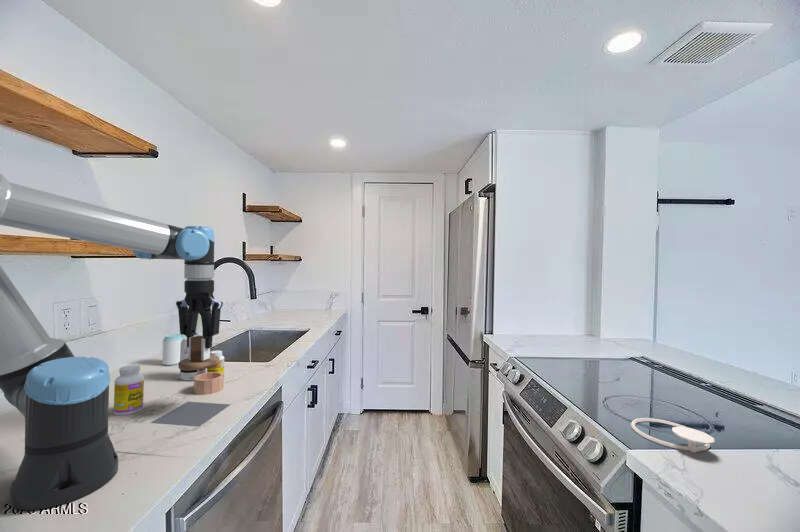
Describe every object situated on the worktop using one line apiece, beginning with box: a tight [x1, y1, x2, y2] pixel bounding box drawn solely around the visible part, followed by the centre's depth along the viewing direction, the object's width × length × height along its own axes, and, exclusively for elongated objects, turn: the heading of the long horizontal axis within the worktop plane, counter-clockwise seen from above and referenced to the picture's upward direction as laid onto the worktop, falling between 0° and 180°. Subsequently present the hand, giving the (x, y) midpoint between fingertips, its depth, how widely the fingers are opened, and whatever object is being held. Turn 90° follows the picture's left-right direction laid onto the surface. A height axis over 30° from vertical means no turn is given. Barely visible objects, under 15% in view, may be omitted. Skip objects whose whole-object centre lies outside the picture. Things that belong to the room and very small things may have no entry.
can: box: [161, 333, 184, 367], centre depth 143 cm, size 7×7×12 cm
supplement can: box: [179, 336, 207, 382], centre depth 127 cm, size 8×8×15 cm
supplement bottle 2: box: [206, 350, 225, 374], centre depth 126 cm, size 6×6×10 cm
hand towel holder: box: [630, 417, 715, 454], centre depth 90 cm, size 17×4×20 cm
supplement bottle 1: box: [113, 364, 145, 416], centre depth 98 cm, size 7×7×13 cm
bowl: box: [193, 372, 225, 396], centre depth 114 cm, size 9×9×5 cm
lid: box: [178, 335, 220, 370], centre depth 100 cm, size 10×10×8 cm
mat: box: [150, 401, 231, 428], centre depth 97 cm, size 14×14×1 cm
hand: (199, 358), depth 100 cm, fingers closed on lid, 3 cm apart
